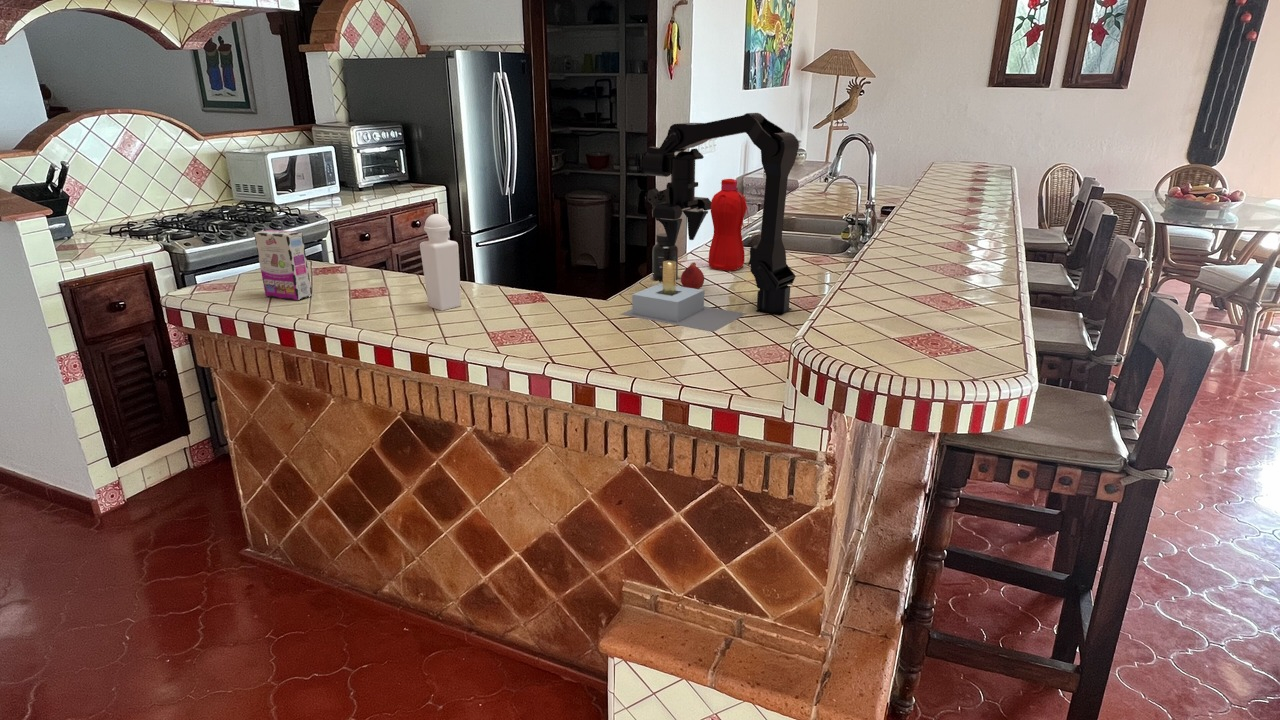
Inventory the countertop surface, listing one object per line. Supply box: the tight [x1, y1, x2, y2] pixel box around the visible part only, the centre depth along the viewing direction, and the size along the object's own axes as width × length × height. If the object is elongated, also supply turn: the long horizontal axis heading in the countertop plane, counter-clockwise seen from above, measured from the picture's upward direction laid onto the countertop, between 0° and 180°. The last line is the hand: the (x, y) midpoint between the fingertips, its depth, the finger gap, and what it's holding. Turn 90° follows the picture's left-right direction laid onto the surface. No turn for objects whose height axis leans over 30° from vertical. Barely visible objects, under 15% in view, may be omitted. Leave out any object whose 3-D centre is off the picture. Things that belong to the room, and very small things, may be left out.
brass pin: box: [662, 261, 677, 296], centre depth 169 cm, size 3×3×10 cm
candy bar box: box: [253, 229, 313, 301], centre depth 184 cm, size 11×5×16 cm, turn 68°
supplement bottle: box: [652, 232, 679, 282], centre depth 200 cm, size 7×7×12 cm
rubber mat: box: [620, 305, 747, 333], centre depth 169 cm, size 24×16×1 cm, turn 56°
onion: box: [680, 261, 705, 290], centre depth 186 cm, size 6×6×8 cm
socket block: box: [631, 282, 705, 322], centre depth 170 cm, size 12×12×4 cm
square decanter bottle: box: [419, 213, 462, 312], centre depth 174 cm, size 6×6×22 cm
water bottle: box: [707, 178, 750, 272], centre depth 209 cm, size 9×11×25 cm
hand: (681, 243), depth 182 cm, fingers open, 9 cm apart
